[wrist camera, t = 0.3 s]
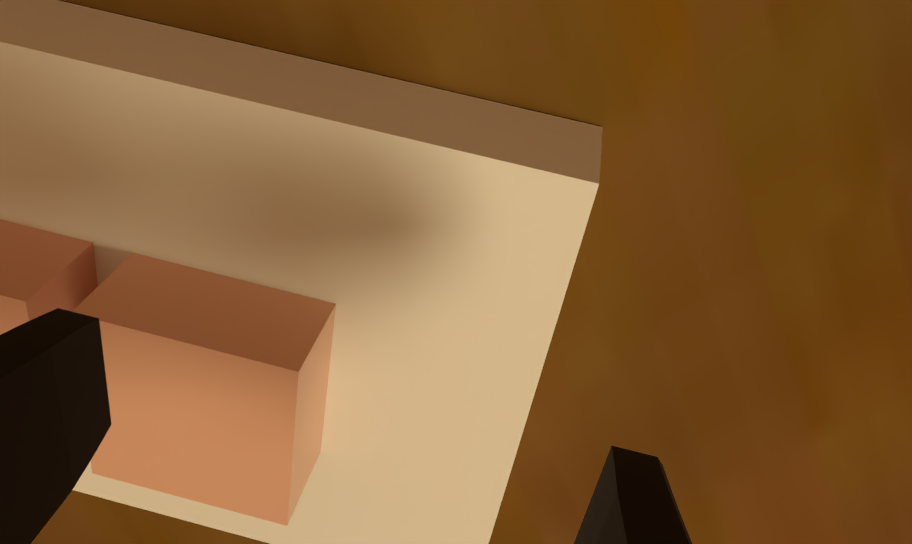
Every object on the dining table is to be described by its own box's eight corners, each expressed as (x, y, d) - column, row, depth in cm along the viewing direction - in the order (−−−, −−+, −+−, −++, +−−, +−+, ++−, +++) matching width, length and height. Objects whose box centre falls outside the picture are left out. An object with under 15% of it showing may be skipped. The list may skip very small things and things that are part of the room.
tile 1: (320, 451, 21) (287, 525, 19) (144, 405, 21) (92, 473, 19) (336, 303, 18) (298, 372, 16) (132, 252, 18) (70, 313, 16)
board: (486, 518, 26) (471, 598, 23) (-25, 382, 27) (-92, 445, 24) (602, 126, 18) (598, 184, 15) (-126, -43, 19) (-240, -16, 16)
